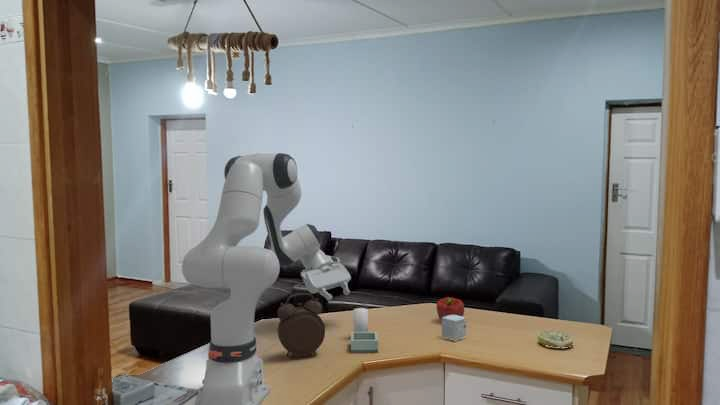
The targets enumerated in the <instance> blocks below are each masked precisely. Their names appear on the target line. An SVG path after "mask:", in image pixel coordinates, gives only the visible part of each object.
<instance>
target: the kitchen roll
mask: <svg viewBox="0 0 720 405" xmlns="http://www.w3.org/2000/svg"><path fill="white" fill-rule="evenodd" d="M352 315H353V317H352V318H353V332H369V309H368V308H365V307H357V308H354V309H353V314H352Z"/></svg>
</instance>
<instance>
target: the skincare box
mask: <svg viewBox="0 0 720 405" xmlns="http://www.w3.org/2000/svg"><path fill="white" fill-rule="evenodd" d="M464 336H466V337H467V317H466V316H463V317H462V316H458V315H454V314H452V315H448V316H445V317H442V321H441V338H442V337H445V338H448V339H453V340H457V339H459V338H462V337H464Z"/></svg>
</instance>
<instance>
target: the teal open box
mask: <svg viewBox="0 0 720 405" xmlns="http://www.w3.org/2000/svg"><path fill="white" fill-rule="evenodd" d="M350 353H351V354H373V353H374V354H377V353H379V339H378V332H377V331H368V332H354V331H351V332H350Z"/></svg>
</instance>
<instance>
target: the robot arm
mask: <svg viewBox="0 0 720 405" xmlns="http://www.w3.org/2000/svg"><path fill="white" fill-rule="evenodd" d="M223 175H224V179H225V181H224V184H223V186H222V192H221V198H220V201H219V202H220V203H219V207H218V212H217V216H216V218H215V222H214V224H213V226H212V228H211V229H210V231H209V232H208V234H207V235H206V237H205V238H204V239H203V240H201V241H200V243H199V244H197V245H195V246H194V247H192V248H191V249H189V250H188V251H187V253H186V254H185V256H184V257H183V259H182V264H181V270H182V275H183V278H184V280H186V282H187V283H188V284H189V285H193V286H197V287H202V288H208V289H209V288H213V289H229V290H230V295H229V298H227V299H226V300H224V301H222V302H221V303H219V304H217V305H216V306H215V307H214V308H213V309H212V311H211V314H210V337H211V338H210V339H211V340H210V341H209V347H208V353H207V354H208V355H207V356H208V359H206V366H205V372H204V378H203V379H202V382H201V383H202V386H201V387H199V388H198V391H197V396H196V399H195V403H194V405H260V404H261V402H262V401H263V400H264V399H265V398H266V397H267V395H268V394H269V392H270V391H271V387H270V385H267V384H266V383H265V382H264V381H265V380H264V369H263V368H264V367H263V360H262V358H260V356H259V355H258V354H257V346H258V345H257V338H256V336H255V313H256V308H257V305H258V302H259V299H260V298H261V296H262V295H263V294H264V292H265V291H267V289H269V288H270V287H272V285H273V284H274V283H275V282H276V281H277V279H278V277H279V274H280V267H285V268H289V267H291V266H292V265H293V264H295V263H296V262H297V261H299V260H300V261H301V262H302V265H303V267H304V269H301V271H300V276H301V278H302V281H303V284H304V286H305V287H306V289H307V291H308V292H309V294H311V295H313V294H315V293H319V294H320V296H322V297H324V298H325V300H326V301H331V300H332V299H333V295H332V294H331V293H328V291H327V290H330V289H334V288H336V287H337V288H338V287H341V288H342V289H343V291H342V293H343V294H344V295H345V296H347V295H350V293H351V291H350V289H349V287H348V286H349V285H348V283H349V282H350V281H351V280H352V276H351V274H350V272H349V271H348V269H347V268H346V267H345V265H343V264H342V263H340V262H341V259H339V257H337V256H336V257H335V256H332V255H328V254H327V255H326V254H325V252H324V251H323V250H321V247H322V245H323V244H322V242H323V236H322V234H321V233H320V232H319V230H317V228H316V226H315V225H312V224H309V223H306V224H304V225H301V226H299V227H297V228H295V229H294V230H292V231H291V232H290V233H288V234H286V235H285V236H283V235H282V230H281V225H282V223H283V222H284V220H285V219H286V217H288V215H289V214H291V212H292V211H293V210H294V209H296V208H297V206H298V205H299V203H300V201H301V198H302V189H301V185H300V182H299V179H298V167H297V163H296V161H295V159H294V158H293V157H292V156H291V155H290V154H287V153H283V152H281V153H280V152H279V153H252V154H248V155H238V156H234V157H232V158H230V159H228V161H227V163H226V164H225V166H224V173H223ZM264 191H265V193H266V197H267V198H266V204H265V206H264V207H263V212H262V213H263V218H264V224H265V228H266V232H267V236H268V240H269V246H270V249H268V248H264V247H260V246H253V245H252V246H251V245H250V246H244V245H243V246H239V245H238V244H239V243H240V242H241V241H243V239H245V238H247V237H248V236H251V235H252V234H254V232H256V231H257V229H258V227H259V225H260V218H261V210H262V204H263V197H264Z"/></svg>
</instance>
